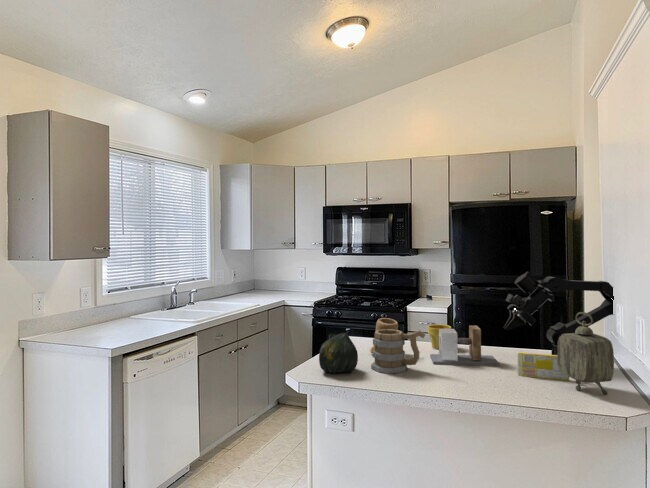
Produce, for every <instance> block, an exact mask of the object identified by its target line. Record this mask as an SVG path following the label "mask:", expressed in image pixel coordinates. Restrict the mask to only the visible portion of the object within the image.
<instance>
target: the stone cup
mask: <svg viewBox="0 0 650 488" xmlns="http://www.w3.org/2000/svg"><path fill="white" fill-rule="evenodd" d="M383 329H386V330H387V329H392V330H399V322H398V321H397V320H395V319H393V318H388V317H381V318H378V319H377V321H376V323H375V332H376V331H377V330H383ZM374 350H375V345H373V346H372V347H371V348H370V350H369V352H370V354H373V351H374Z"/></svg>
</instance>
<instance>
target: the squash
mask: <svg viewBox="0 0 650 488" xmlns="http://www.w3.org/2000/svg"><path fill="white" fill-rule="evenodd" d="M358 361H359V354H358V350H357V348H356V345H355V343H354V342H353V341H352V339H351V338H350V337H349V335H348V334H347V333H346V332H342V333H338V334H337V335H334V336H332V337H330V338H329V339H327V340H325V341H324V342H323V343H322V344H321V346H320V349H319V354H318V363H319V366H320V368H321V370H322V371H323V372H325V373H331V374H335V373H337V372H339V373H344V372H345V373H349V372H352V371H354V370H355V369H356V368H357V365H358Z"/></svg>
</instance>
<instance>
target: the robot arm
mask: <svg viewBox="0 0 650 488" xmlns="http://www.w3.org/2000/svg"><path fill="white" fill-rule="evenodd" d="M514 284H515V285H516V286H517V287H518V288H519V289H520V290H521V291H522V292H523V293H525V294H528V293H529V295H528V296H527V297H522V296H521V295H519V294H515V295H513V294H511V293H508V294H507V297H506V298H505V302H508V303H509V305H508V306H507V307H506V308H507V309H508V311H509V316H508V318H507V321H506V322H505V324H504V326H503V329H504V330H505V331H511V330H512V329H513V330H514V329H516V328H519V327H522V326H526V325H527V323H528V325H530V326H531V327H533V325H535V323H536V318H535V317H534V316H533V314H534V313H535V312H539V311H540V308H541V306H543V305H544V304H545V303H546V302H547V301H550V302H553V303H554V302H555V295H554V294H552V293H561V292H568V291H586V292H587V291H588V292H589V291H590V292H599V293H600V294H601V297H603V299H604V300H603V301H602V303H601V304H599V306H597V307H595V308H594V309H592V310H590V311H588V312H587V313H588V314H589V315H591V317H592V319H593V323H592V324H591V325H590V326H592V325H594V324H596V323H598V322H599V321H601V320H604V319H605V318H607V317H609V316H613V315H614V314H613V300H614V296H613V288H614V286H613V285H611V284H610V283H609V282H608V281H605V280H575V279H574V280H573V279H572V280H571V279H569V280H568V279H564V278H559V277H555V276H546V277H544V279H540V280H539V279H538V280H537V279H536V278H535V277H534V276H533V274H532V273H531V272H530V271H526V272H525V273H523V274H521V275H519V276H518V277H517V278H516V279H515V281H514ZM542 288H543V289H542ZM549 292H551V294H550V293H549ZM611 298H612V299H613V300H612V299H611ZM577 320H578V321H579V322H581V323H582V321H586V324H590V323H591V319H590V317H589V316H587V315H585V314H582V315H581V316H579V317H577ZM526 322H527V323H526ZM580 326H582V325H581V324H579V323H578V322H577V321H576V318H575V319H573V320H571V321H570V322H568V323H563V322H560V321H559V322H557V323H555V324H554V325H551V326H549V329H547V331H546V338H547V340H548V341H549V342H551V346H552V349H551V353H550V354H551V355H557V347H558V339H559V337H560V336H561V335H562V334H568V333H575V330H576V329H577V328H578V327H580ZM586 327H589V326H586Z"/></svg>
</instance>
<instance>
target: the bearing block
mask: <svg viewBox="0 0 650 488" xmlns="http://www.w3.org/2000/svg"><path fill="white" fill-rule="evenodd" d="M457 338H458V332H457V331H456V329H455V328H451V329H439V349H438V354H439V356H440V358H441V360H442V361H458V355H459V354H458V345H459V344H458V343H457Z"/></svg>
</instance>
